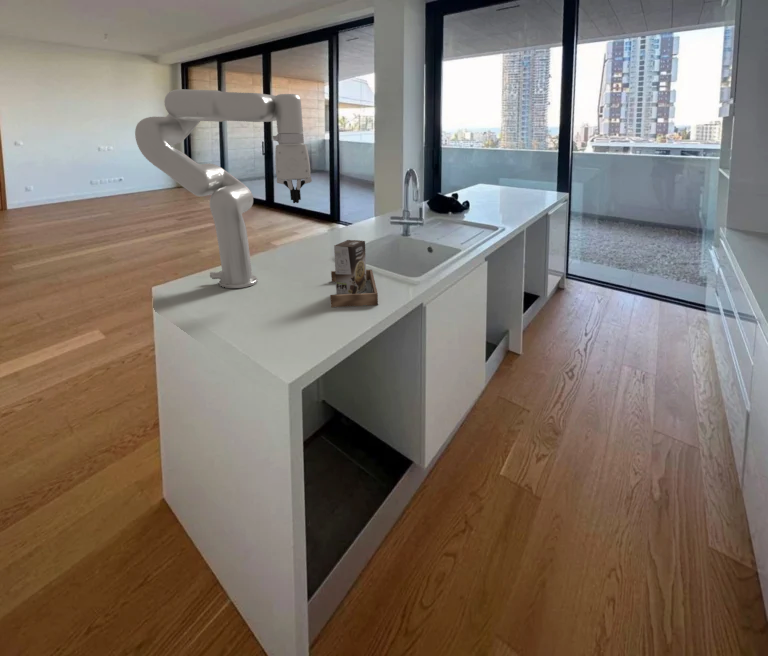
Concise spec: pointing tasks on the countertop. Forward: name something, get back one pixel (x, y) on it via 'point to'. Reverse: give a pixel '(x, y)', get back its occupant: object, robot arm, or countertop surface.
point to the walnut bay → (355, 295)
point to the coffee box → (350, 267)
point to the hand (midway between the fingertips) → (296, 202)
